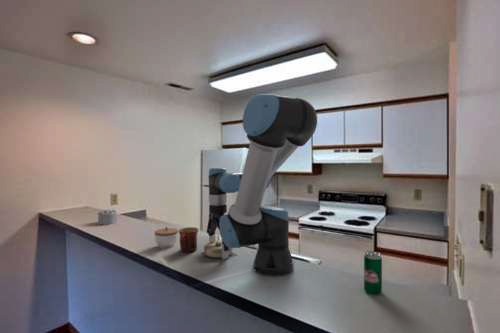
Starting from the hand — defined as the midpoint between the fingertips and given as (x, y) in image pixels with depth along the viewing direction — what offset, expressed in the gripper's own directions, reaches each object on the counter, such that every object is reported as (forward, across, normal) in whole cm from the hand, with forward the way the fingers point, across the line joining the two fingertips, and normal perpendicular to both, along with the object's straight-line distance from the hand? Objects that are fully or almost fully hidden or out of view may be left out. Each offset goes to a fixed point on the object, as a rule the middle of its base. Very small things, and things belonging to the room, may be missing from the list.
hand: (218, 254), depth 115 cm
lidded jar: (+1, +26, +15) cm, 30 cm away
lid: (-1, 0, 0) cm, 1 cm away
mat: (+1, 0, 0) cm, 1 cm away
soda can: (+2, -55, -26) cm, 61 cm away
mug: (+1, +11, +10) cm, 15 cm away
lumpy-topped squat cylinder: (+1, +99, +34) cm, 105 cm away
